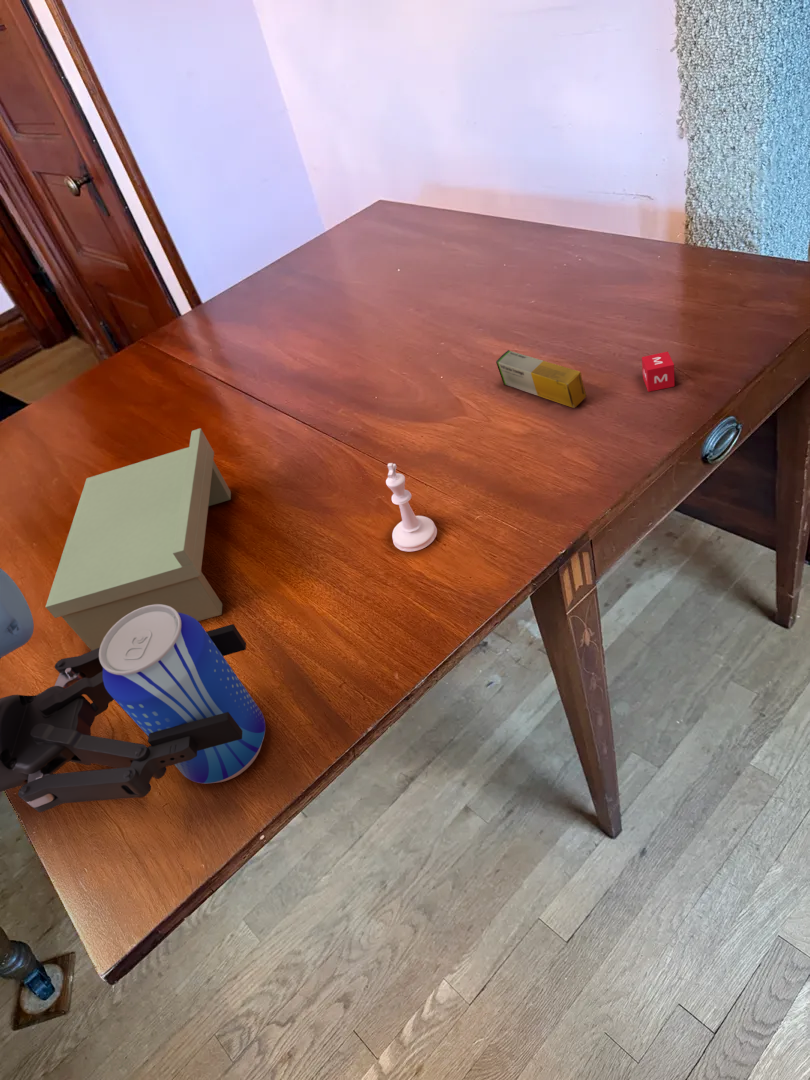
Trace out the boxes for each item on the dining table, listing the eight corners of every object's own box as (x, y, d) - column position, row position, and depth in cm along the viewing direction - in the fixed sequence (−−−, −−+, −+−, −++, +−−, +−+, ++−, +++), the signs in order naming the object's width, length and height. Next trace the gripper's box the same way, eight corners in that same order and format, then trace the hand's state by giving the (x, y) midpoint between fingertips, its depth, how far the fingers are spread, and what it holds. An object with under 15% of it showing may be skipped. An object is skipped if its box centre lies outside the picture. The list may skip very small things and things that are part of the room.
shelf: (87, 654, 81) (33, 594, 74) (119, 524, 97) (77, 465, 91) (226, 614, 80) (183, 549, 73) (234, 490, 96) (200, 427, 89)
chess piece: (388, 552, 80) (360, 482, 73) (398, 520, 83) (373, 450, 77) (432, 551, 78) (407, 479, 72) (441, 518, 82) (418, 447, 75)
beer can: (167, 753, 68) (70, 647, 58) (240, 691, 71) (160, 579, 61) (212, 810, 63) (114, 703, 52) (288, 740, 66) (210, 626, 55)
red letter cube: (674, 386, 88) (674, 364, 86) (648, 391, 88) (647, 370, 86) (668, 373, 90) (667, 351, 88) (642, 378, 90) (641, 357, 88)
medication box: (501, 385, 97) (493, 360, 94) (515, 373, 98) (507, 348, 95) (574, 409, 89) (567, 383, 86) (588, 396, 90) (582, 369, 87)
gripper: (40, 675, 73) (258, 613, 71) (-25, 893, 57) (252, 820, 56) (-8, 627, 68) (225, 559, 66) (-94, 851, 52) (208, 770, 51)
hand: (237, 678), depth 61 cm, fingers closed on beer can, 8 cm apart
